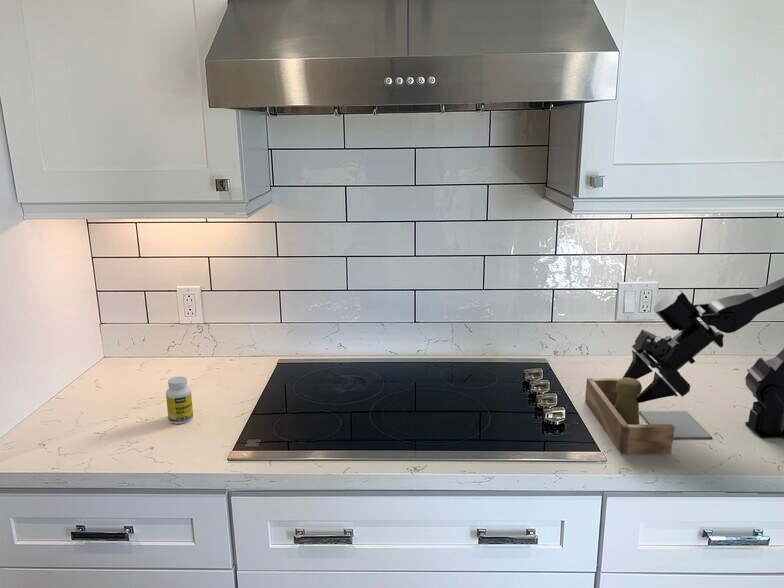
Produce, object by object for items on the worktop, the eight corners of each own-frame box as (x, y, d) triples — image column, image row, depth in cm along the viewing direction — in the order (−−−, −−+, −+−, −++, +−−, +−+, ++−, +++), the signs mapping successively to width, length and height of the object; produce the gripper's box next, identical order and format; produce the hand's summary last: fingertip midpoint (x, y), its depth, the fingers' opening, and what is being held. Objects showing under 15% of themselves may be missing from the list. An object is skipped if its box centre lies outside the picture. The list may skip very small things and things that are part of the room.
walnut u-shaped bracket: (627, 401, 151) (629, 378, 149) (671, 453, 127) (674, 427, 126) (585, 401, 151) (587, 378, 149) (621, 454, 127) (623, 427, 126)
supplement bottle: (176, 427, 139) (172, 386, 136) (164, 419, 143) (159, 380, 140) (198, 418, 143) (194, 379, 140) (185, 411, 146) (181, 372, 144)
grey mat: (686, 412, 145) (686, 411, 145) (712, 438, 133) (712, 436, 133) (639, 412, 145) (639, 411, 145) (660, 438, 133) (660, 437, 133)
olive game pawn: (621, 433, 136) (626, 387, 133) (605, 421, 141) (609, 376, 138) (645, 430, 137) (650, 383, 134) (628, 417, 143) (633, 373, 140)
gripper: (645, 306, 141) (592, 352, 144) (682, 334, 123) (621, 385, 126) (675, 339, 144) (622, 383, 147) (716, 371, 126) (655, 421, 129)
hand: (629, 392), depth 137 cm, fingers open, 9 cm apart
